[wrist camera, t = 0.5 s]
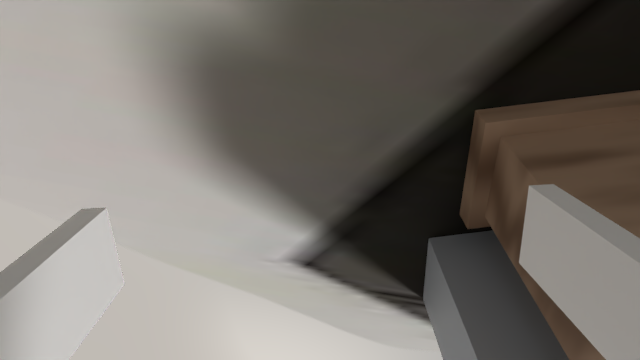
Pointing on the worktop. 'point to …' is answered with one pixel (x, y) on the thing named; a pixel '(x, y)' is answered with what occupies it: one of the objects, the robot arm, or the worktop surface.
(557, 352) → the slate block
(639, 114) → the walnut shelf stand
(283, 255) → the worktop surface
